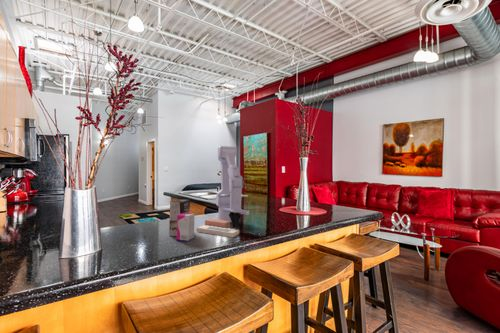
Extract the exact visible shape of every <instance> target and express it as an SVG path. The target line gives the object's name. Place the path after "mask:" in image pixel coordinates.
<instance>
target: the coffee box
mask: <svg viewBox="0 0 500 333" xmlns="http://www.w3.org/2000/svg"><path fill="white" fill-rule="evenodd" d="M190 211H191V200H190V199H182V198H180V199H175V200H170V202H169V225H168V236H170V237H171V236H172V237H177V215H179V214H182V213H191V212H190Z"/></svg>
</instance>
